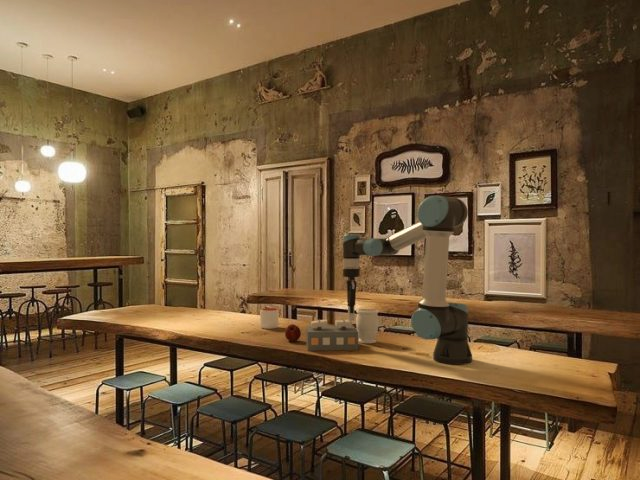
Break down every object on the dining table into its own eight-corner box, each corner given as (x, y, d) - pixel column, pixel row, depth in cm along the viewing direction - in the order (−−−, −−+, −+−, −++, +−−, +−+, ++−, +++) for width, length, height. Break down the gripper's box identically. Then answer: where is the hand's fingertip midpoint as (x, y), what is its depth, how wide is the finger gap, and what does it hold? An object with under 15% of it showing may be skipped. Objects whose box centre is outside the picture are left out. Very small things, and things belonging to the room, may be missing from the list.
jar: (382, 341, 223) (383, 310, 223) (369, 345, 216) (369, 312, 216) (365, 338, 230) (365, 307, 230) (351, 341, 223) (351, 310, 223)
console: (358, 350, 206) (358, 329, 206) (307, 350, 204) (307, 329, 204) (353, 343, 220) (353, 323, 220) (306, 343, 219) (306, 323, 219)
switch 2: (352, 326, 211) (352, 320, 211) (336, 326, 210) (336, 321, 210) (350, 324, 216) (350, 319, 216) (335, 324, 215) (335, 319, 215)
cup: (282, 327, 261) (282, 309, 261) (270, 330, 252) (270, 311, 252) (267, 325, 266) (268, 307, 266) (256, 328, 257) (256, 309, 257)
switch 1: (327, 325, 210) (327, 320, 210) (312, 327, 209) (311, 322, 209) (326, 323, 215) (325, 318, 215) (311, 325, 214) (310, 320, 214)
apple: (282, 342, 222) (282, 325, 222) (289, 339, 229) (289, 322, 229) (296, 343, 219) (296, 326, 219) (303, 340, 226) (303, 323, 226)
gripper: (362, 268, 207) (361, 322, 207) (357, 267, 220) (357, 317, 220) (345, 269, 206) (344, 322, 207) (341, 267, 220) (341, 317, 220)
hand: (351, 320), depth 213 cm, fingers closed
